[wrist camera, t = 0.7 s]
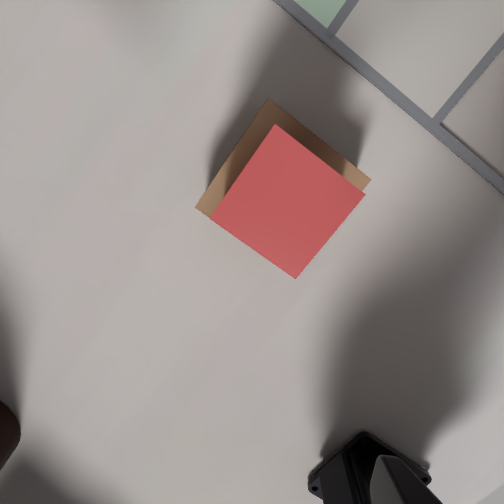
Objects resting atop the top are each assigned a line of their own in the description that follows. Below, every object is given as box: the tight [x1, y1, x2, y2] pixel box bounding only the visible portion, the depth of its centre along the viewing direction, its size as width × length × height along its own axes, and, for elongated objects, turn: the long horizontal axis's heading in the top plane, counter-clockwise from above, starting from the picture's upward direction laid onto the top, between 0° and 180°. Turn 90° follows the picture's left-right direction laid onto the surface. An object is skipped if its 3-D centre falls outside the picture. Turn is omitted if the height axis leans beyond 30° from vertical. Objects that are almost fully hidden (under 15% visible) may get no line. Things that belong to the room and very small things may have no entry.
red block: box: [210, 124, 366, 279], centre depth 14 cm, size 4×4×4 cm
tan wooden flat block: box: [195, 98, 371, 218], centre depth 17 cm, size 6×6×3 cm
